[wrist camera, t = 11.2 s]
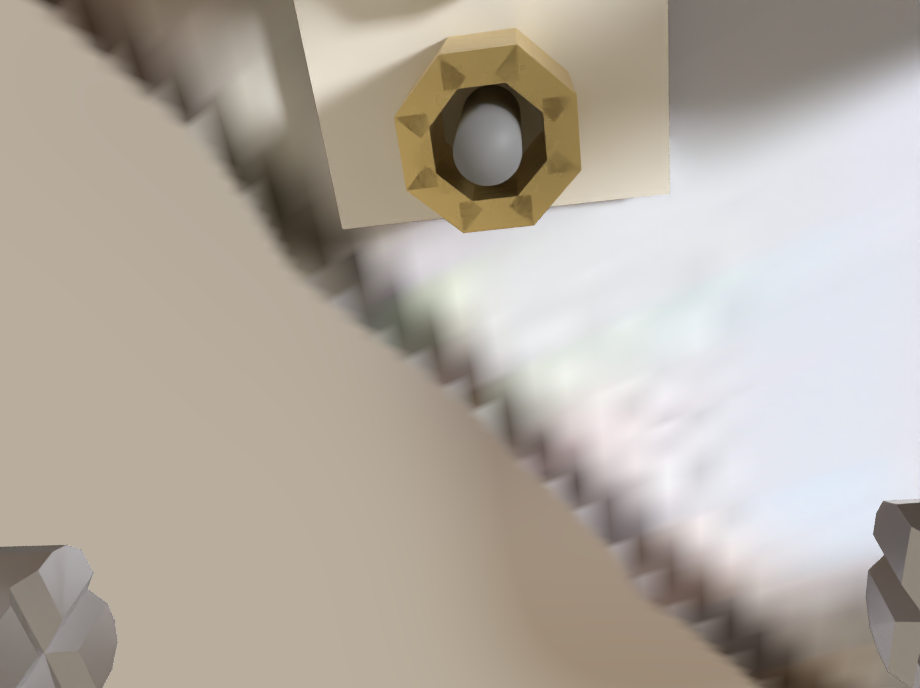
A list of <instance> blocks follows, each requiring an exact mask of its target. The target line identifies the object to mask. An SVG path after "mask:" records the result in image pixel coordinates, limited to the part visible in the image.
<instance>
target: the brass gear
mask: <svg viewBox="0 0 920 688" xmlns="http://www.w3.org/2000/svg"><path fill="white" fill-rule="evenodd" d="M499 83H507V84H508V85H509V86H511V87H512V88H513V89H514V90H516V91H517V92H518V93H519V94H520V95H522V96H523V97H524V98H525V99H526V100H528V101H529V102H530V103H531V104H533V105H534V106H535V107H536V108H537V109H539V110H540V111H541V117H542V129H543V130H542V131H541V132H540V134H539V135H538V136H537V137H536V139H535V140H534V141H533V142H532V143H531V145H530V146H529V147H528V148H527V150H526V151H525V152H524V153H523V155H522V158H521V162H520V164H519V167H518V169H517V170H516V172H515V173H514V174H513V175H512V176H511V177H510V178H509V179H508V180H506V181H504V182H502V183H500V184H497V185H493V186H482V185H478V184H475V183H473V182H471V181H469V180H467V179H466V178H465V177H464V176H463V175H462V174H461V173H460V172H459V170H458V169H457V167H456V165H455V162H454V158H453V147H452V146H451V145H449V144H448V143H447V142H446V141H445V134H444V126H443V119H442V112H441V111H442V109H443V108H444V107H445V105H446V104H447V103H448V101H449V100H450V98H451V97H452V96H453V94H454V93H455V92H456V90H457V89H460V88H468V87H476V86H484V85H491V84H499ZM394 122H395V127H396V133H397V139H398V145H399V151H400V157H401V163H402V168H403V174H404V180H405V186H406V191H408V192H409V193H410V194H412V195H413V196H414V197H416V198H417V199H418V200H420V201H421V202H422V203H424V204H425V205H427V206H428V207H429V208H431V209H432V210H433V211H435V212H436V213H437V214H439V215H440V216H441V217H443V218H444V219H445V220H447V221H448V222H449V223H451V224H452V225H453V226H455V227H456V228H457V229H459V230H460V231H461V232H463V233H468V232H477V231H486V230H496V229H505V228H514V227H523V226H533V225H535V224H536V222H537V221H538V220H539V219H540V218H541V217H542V215H543V214H544V213H545V212H546V211H547V210H548V208H549V207H550V206H551V205H552V204H553V203H554V202H555V200H556V199H557V198H558V197H559V196H560V195H561V193H562V192H563V191H564V190H565V189H566V188H567V186H568V185H569V184H570V183H571V182H572V181H573V180H574V178H575V177H576V176H577V175H578V174H579V173H580V171H581V154H580V139H579V123H578V107H577V94H576V91H575V89H574V86H573V83H572V81H571V78H570V75H569V73H568V71H567V70H566V69H564V68H563V67H562V66H561V65H560V64H558V63H557V62H556V61H555V60H554V59H553V58H551V57H550V56H549V55H548V54H547V53H545V52H544V51H543V50H542V49H541V48H540V47H538V46H537V45H536V44H535V43H534V42H532V41H531V40H530V39H529V38H528V37H526V36H525V35H524V34H523V33H522V32H521V31H519V30H518V29H517V28H510V29H502V30H495V31H488V32H481V33H473V34H466V35H459V36H451V37H448V38H447V40H446V41H445V42H444V44H443V45H442V47H441V48H440V49H439V51H438V52H437V54H436V55H435V56H434V58H433V59H432V61H431V62H430V64H429V65H428V66H427V68H426V69H425V71H424V72H423V73H422V75H421V76H420V78H419V79H418V80H417V82H416V83H415V85H414V86H413V87H412V89H411V90H410V92H409V93H408V95H407V96H406V98H405V100H404V101H403V103H402V105H401V106H400V108H399V110H398V111H397V113H396V115H395V116H394Z"/></svg>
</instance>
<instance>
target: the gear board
mask: <svg viewBox="0 0 920 688" xmlns="http://www.w3.org/2000/svg"><path fill="white" fill-rule="evenodd" d="M294 5H295V10H296V15H297V19H298V24H299V29H300V33H301V38H302V43H303V47H304V52H305V57H306V61H307V66H308V71H309V75H310V80H311V85H312V89H313V94H314V99H315V103H316V108H317V113H318V117H319V122H320V127H321V131H322V136H323V141H324V145H325V150H326V155H327V160H328V164H329V169H330V174H331V178H332V183H333V188H334V192H335V197H336V202H337V206H338V211H339V216H340V220H341V225H342V229H351V228H360V227H369V226H378V225H387V224H396V223H405V222H414V221H423V220H433V219H442V218H443V217H441V216H440V215H439V214H437V213H436V212H435V211H433V210H432V209H431V208H429V207H428V206H427V205H425V204H424V203H422V202H421V201H420V200H418V199H417V198H416V197H414V196H413V195H412V194H410V193H409V192H408V191H406V186H405V180H404V174H403V168H402V163H401V157H400V151H399V145H398V139H397V133H396V127H395V122H394V116H395V115H396V113H397V111H398V110H399V108H400V106H401V105H402V103H403V101H404V100H405V98H406V96H407V95H408V93H409V92H410V90H411V89H412V87H413V86H414V85H415V83H416V82H417V80H418V79H419V78H420V76H421V75H422V73H423V72H424V71H425V69H426V68H427V66H428V65H429V64H430V62H431V61H432V59H433V58H434V56H435V55H436V54H437V52H438V51H439V49H440V48H441V47H442V45H443V44H444V42H445V41H446V40H447V38H448V37H451V36H459V35H466V34H473V33H481V32H488V31H495V30H502V29H510V28H517V29H518V30H519V31H521V32H522V33H523V34H524V35H525V36H526V37H528V38H529V39H530V40H531V41H532V42H534V43H535V44H536V45H537V46H538V47H540V48H541V49H542V50H543V51H544V52H545V53H547V54H548V55H549V56H550V57H551V58H553V59H554V60H555V61H556V62H557V63H558V64H560V65H561V66H562V67H563V68H564V69H566V70H567V71H568V73H569V75H570V78H571V81H572V83H573V86H574V89H575V91H576V94H577V107H578V123H579V139H580V154H581V171H580V173H579V174H578V175H577V176H576V177H575V178H574V180H573V181H572V182H571V183H570V184H569V185H568V186H567V188H566V189H565V190H564V191H563V192H562V193H561V195H560V196H559V197H558V198H557V199H556V200H555V202H554V203H553V204H552V205H551V206H560V205H569V204H578V203H587V202H596V201H606V200H615V199H624V198H633V197H642V196H651V195H660V194H669V193H670V159H669V55H668V0H294ZM441 112H442V119H443V126H444V134H445V141H446V142H447V143H448V144H449V145H451V146H452V147H453V158H454V162H455V165H456V167H457V169H458V170H459V172H460V173H461V174H462V175H463V176H464V177H465V178H466V179H467V180H469V181H471V182H473V183H475V184H478V185H482V186H493V185H497V184H500V183H502V182H504V181H506V180H508V179H509V178H510V177H511V176H512V175H513V174H514V173H515V172H516V170H517V169H518V167H519V164H520V162H521V158H522V155H523V153H524V152H525V151H526V150H527V148H528V147H529V146H530V145H531V143H532V142H533V141H534V140H535V139H536V137H537V136H538V135H539V134H540V132H541V131H542V130H543V129H542V117H541V111H540V110H539V109H537V108H536V107H535V106H534V105H533V104H531V103H530V102H529V101H528V100H526V99H525V98H524V97H523V96H522V95H520V94H519V93H518V92H517V91H516V90H514V89H513V88H512V87H511V86H509V85H508V84H507V83H499V84H491V85H484V86H476V87H468V88H460V89H457V90H456V92H455V93H454V94H453V96H452V97H451V98H450V100H449V101H448V103H447V104H446V105H445V107H444V108H443V109H442V111H441ZM551 206H550V207H551Z"/></svg>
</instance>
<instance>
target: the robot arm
mask: <svg viewBox="0 0 920 688" xmlns="http://www.w3.org/2000/svg"><path fill="white" fill-rule="evenodd" d="M873 535H874V537H875V539H876V541H877V542H878V544H879V546H880V548H881V549H882V551H883V553H884V556H883V557H882V558H881V559H880V560H879V561H878V562H877V563H876V564H874V565H873V566H872V567H871V568H870V569H869V570H868V579H867V590H866V602H867V610H868V617H869V625H870V629H871V632H872V635H873V638H874V641H875V644H876V647H877V650H878V652H879V654H880V656H881V658H882V660H883V662H884V665H885V667H886V669H887V671H888V672H889V673H890V674H892V675H893V676H895V677H896V678H897V679H899V680H900V681H902V682H903V683H904V684H906V685H907V686H909V687H910V688H920V499H908V500H891V501H883V502H882V504H881V506H880V507H879V509H878V511H877V513H876V519H875V525H874V532H873ZM92 575H93V571H92V569H91V567H90V565H89V563H88V561H87V559H86V557H85V555H84V554H83V552H82V550H81V549H78V548H75V547H72V546H68V545H51V546H50V545H49V546H14V547H0V688H102V687H103V685H104V683H105V682H106V680H107V678H108V676H109V674H110V672H111V670H112V667H113V662H114V657H115V652H116V647H117V634H116V626H115V620H114V618H113V615H112V613H111V611H110V608H109V606H108V604H107V603H106V602H105V601H103V600H102V599H101V598H99V597H98V596H97V595H95V594H94V593H93V592H91V591H90V590H88V589H87V588H88V586H89V583H90V580H91V578H92Z"/></svg>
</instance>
